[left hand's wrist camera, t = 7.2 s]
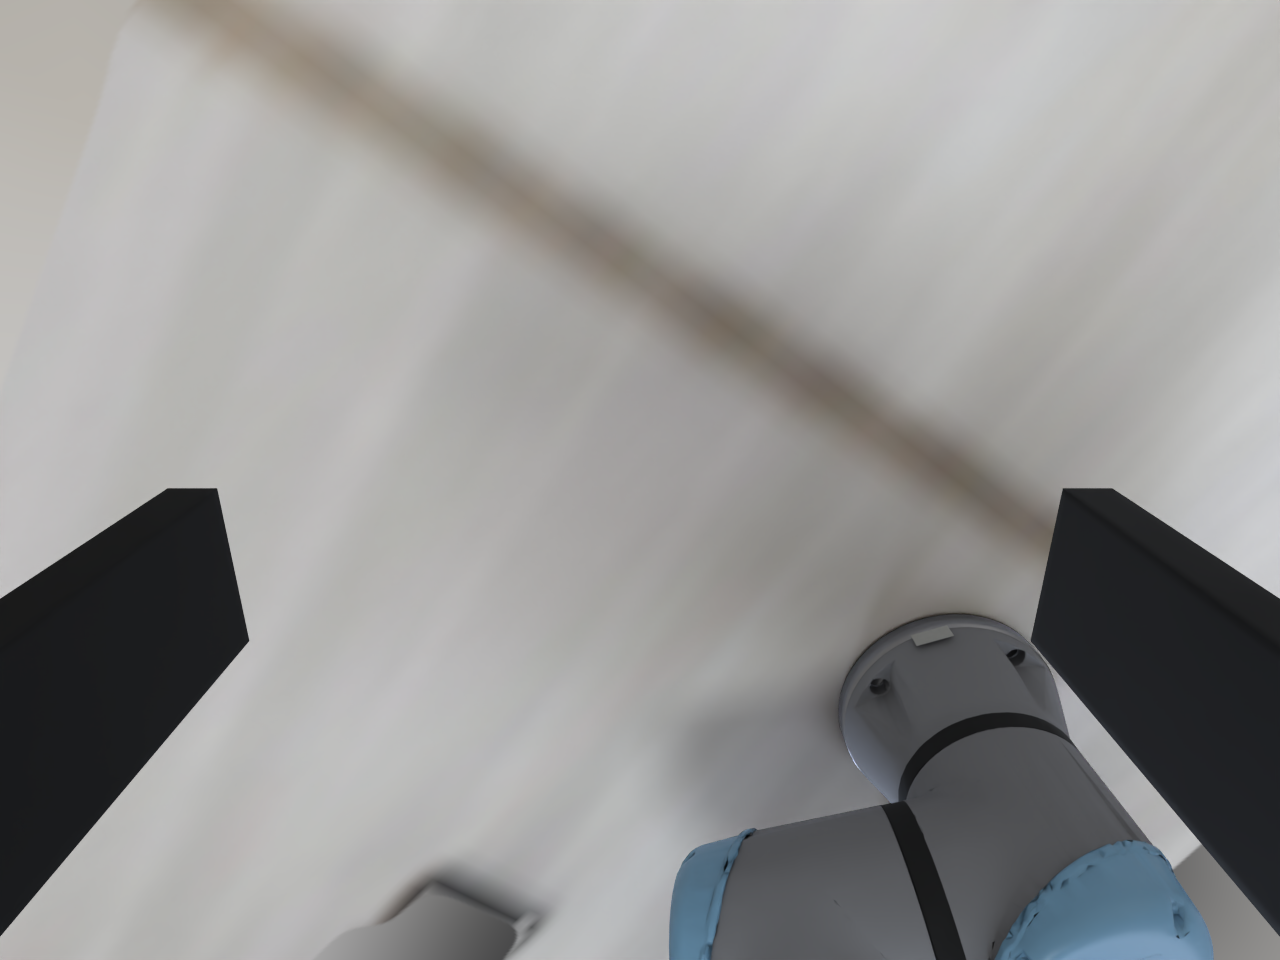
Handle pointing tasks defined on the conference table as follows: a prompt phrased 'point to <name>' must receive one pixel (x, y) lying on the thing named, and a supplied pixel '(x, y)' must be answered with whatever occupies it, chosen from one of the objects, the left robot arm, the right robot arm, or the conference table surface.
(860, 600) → the conference table surface
